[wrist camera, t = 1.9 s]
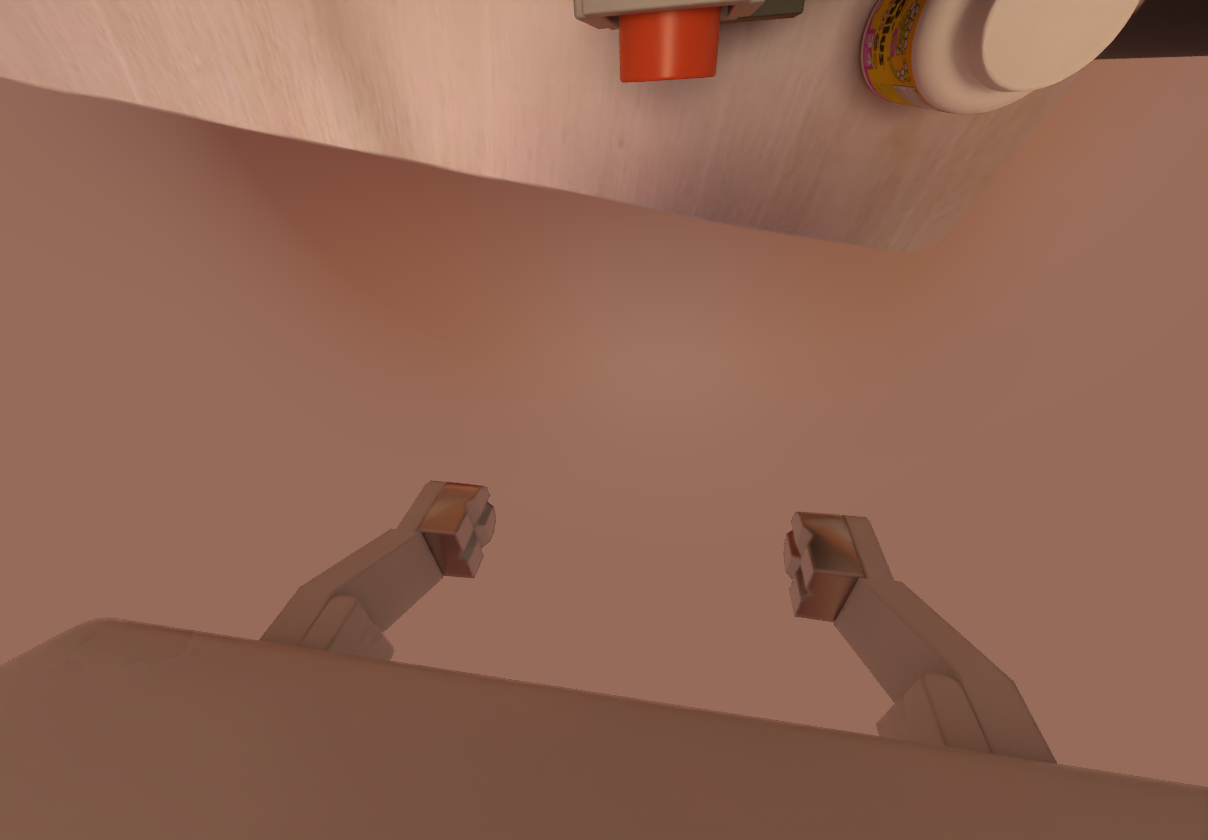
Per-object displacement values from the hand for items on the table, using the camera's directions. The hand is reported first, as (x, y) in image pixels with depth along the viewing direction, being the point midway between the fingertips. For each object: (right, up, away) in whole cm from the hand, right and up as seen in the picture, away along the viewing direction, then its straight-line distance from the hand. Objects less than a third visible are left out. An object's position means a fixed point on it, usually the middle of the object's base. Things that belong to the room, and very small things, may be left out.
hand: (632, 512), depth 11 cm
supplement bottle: (+18, +25, +15) cm, 34 cm away
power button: (+2, +16, +4) cm, 16 cm away
